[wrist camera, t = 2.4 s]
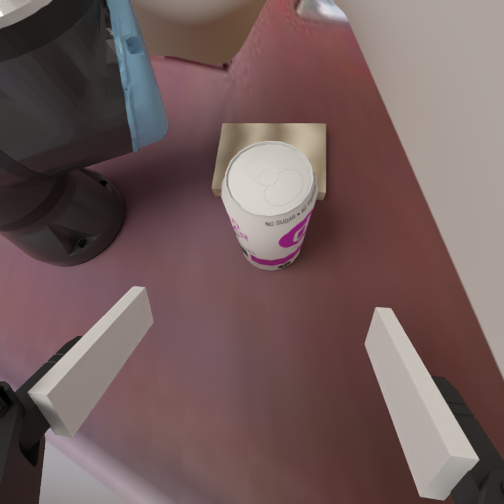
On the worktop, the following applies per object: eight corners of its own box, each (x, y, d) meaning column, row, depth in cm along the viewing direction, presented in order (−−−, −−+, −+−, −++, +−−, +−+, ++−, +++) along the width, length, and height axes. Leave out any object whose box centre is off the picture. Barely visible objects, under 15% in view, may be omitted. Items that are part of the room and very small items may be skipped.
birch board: (214, 196, 36) (211, 188, 34) (225, 133, 40) (222, 123, 38) (323, 200, 34) (326, 192, 33) (323, 133, 38) (326, 123, 36)
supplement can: (312, 237, 33) (342, 165, 19) (276, 284, 31) (278, 244, 17) (266, 206, 35) (260, 120, 21) (229, 248, 33) (196, 186, 19)
